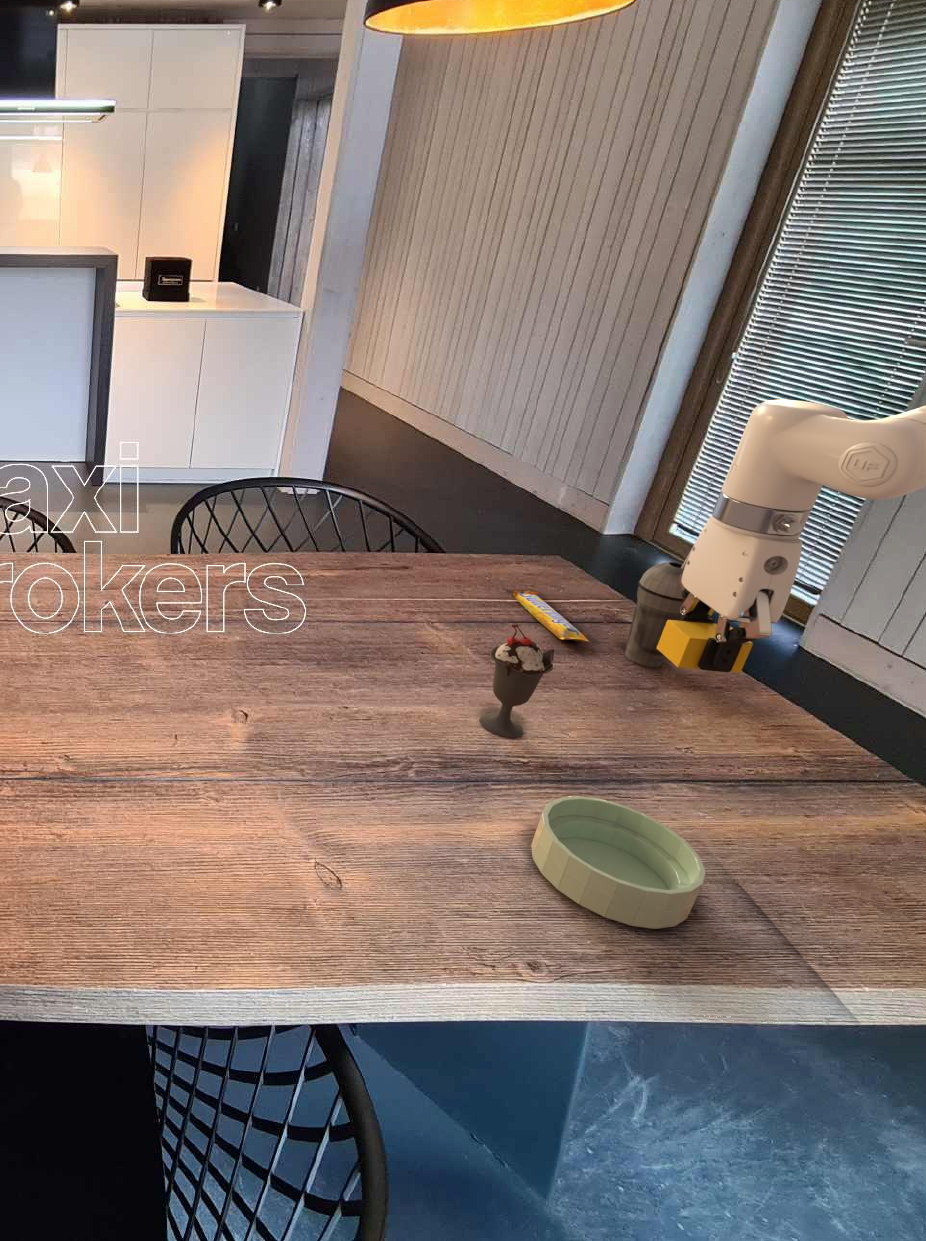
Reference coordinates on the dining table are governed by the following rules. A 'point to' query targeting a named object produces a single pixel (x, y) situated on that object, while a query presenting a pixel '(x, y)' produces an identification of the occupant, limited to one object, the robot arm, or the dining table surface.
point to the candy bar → (548, 616)
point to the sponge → (692, 644)
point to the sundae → (515, 680)
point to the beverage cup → (654, 611)
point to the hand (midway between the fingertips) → (699, 656)
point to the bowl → (617, 862)
